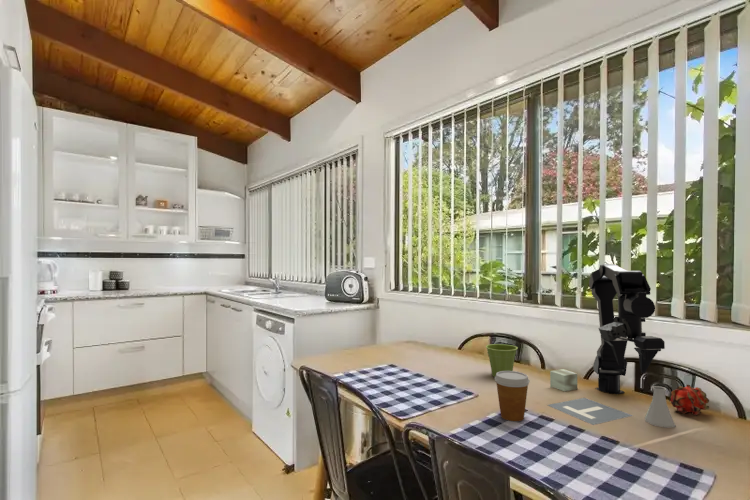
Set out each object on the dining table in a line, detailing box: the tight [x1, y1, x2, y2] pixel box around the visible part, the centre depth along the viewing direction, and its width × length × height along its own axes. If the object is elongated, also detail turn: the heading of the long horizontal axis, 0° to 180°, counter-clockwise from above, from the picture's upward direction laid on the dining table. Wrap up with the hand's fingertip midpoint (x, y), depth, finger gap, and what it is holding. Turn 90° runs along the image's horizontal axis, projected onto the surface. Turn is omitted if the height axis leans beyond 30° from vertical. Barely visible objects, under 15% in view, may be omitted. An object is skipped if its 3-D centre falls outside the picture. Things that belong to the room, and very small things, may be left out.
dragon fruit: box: [668, 384, 710, 416], centre depth 118 cm, size 8×8×12 cm
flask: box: [644, 385, 677, 429], centre depth 110 cm, size 7×7×10 cm
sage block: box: [549, 368, 578, 392], centre depth 140 cm, size 6×6×6 cm
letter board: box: [547, 397, 634, 426], centre depth 119 cm, size 16×16×1 cm
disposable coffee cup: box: [494, 370, 531, 422], centre depth 116 cm, size 10×10×12 cm
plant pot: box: [485, 343, 519, 378], centre depth 155 cm, size 12×12×11 cm
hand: (631, 368), depth 117 cm, fingers open, 9 cm apart
